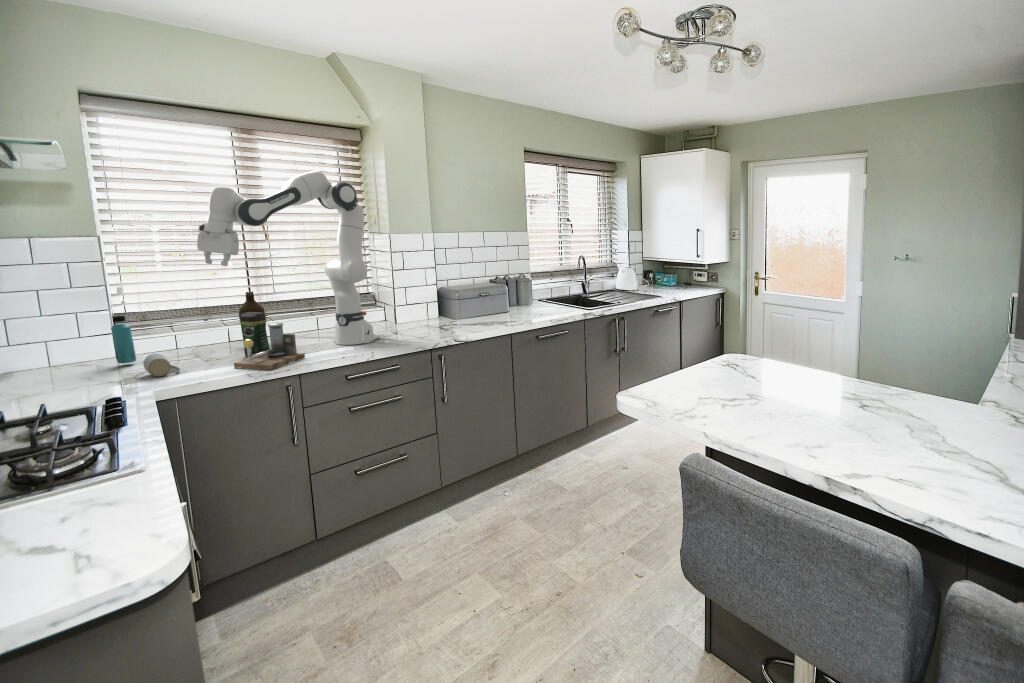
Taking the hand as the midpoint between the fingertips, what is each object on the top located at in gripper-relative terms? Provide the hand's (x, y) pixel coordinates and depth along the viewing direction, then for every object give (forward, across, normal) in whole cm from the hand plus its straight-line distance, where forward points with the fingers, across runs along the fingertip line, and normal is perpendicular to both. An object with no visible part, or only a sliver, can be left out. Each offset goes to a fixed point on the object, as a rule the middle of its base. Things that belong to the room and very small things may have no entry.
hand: (216, 264), depth 206 cm
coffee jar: (+36, -3, -21) cm, 41 cm away
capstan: (+34, -20, -11) cm, 41 cm away
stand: (+36, -20, -14) cm, 43 cm away
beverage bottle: (+45, +31, +12) cm, 56 cm away
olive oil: (+34, +14, -32) cm, 49 cm away
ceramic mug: (+43, +3, +14) cm, 46 cm away
